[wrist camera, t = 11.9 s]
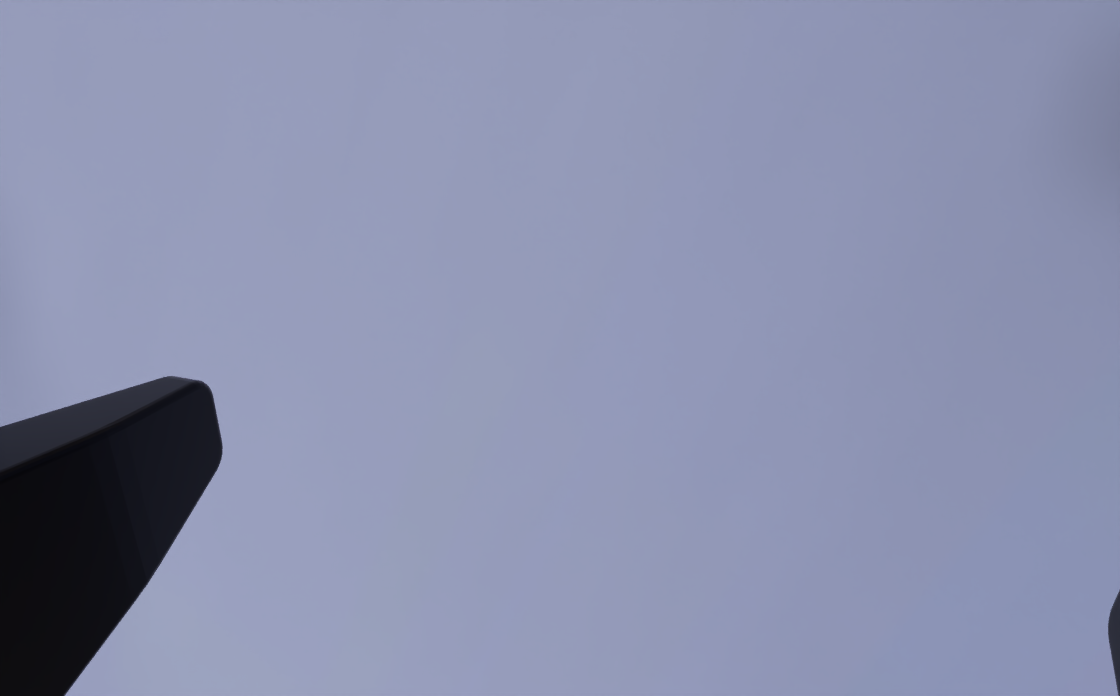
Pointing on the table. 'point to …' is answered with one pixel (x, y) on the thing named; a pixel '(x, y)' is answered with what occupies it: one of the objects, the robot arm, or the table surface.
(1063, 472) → the table surface
